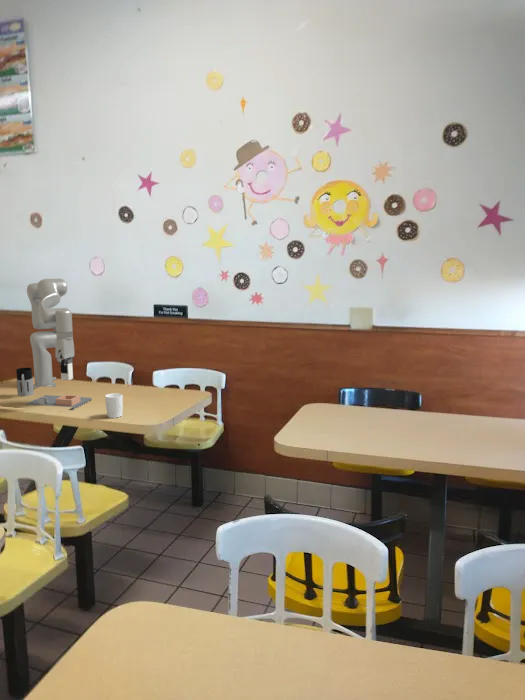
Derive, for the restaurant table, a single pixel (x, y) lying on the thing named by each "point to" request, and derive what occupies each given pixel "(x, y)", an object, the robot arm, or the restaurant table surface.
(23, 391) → the glass holder
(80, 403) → the board
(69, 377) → the salt shaker
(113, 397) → the white cup
